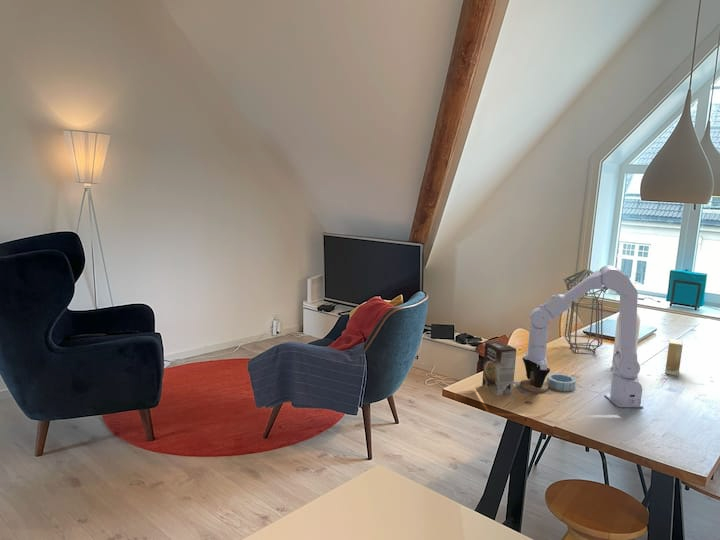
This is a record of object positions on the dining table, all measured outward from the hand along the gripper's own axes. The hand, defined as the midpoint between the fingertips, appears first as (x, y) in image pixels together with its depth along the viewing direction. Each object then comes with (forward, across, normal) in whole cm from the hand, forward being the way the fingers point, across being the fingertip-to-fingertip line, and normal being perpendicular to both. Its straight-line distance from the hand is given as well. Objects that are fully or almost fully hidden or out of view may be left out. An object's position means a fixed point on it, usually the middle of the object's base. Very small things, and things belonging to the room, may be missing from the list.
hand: (534, 383), depth 175 cm
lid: (+2, 0, 0) cm, 2 cm away
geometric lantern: (+3, -43, +35) cm, 56 cm away
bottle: (+3, -22, +42) cm, 47 cm away
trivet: (+2, 0, 0) cm, 2 cm away
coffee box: (+3, +2, -13) cm, 13 cm away
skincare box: (+3, -19, +59) cm, 62 cm away
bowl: (+2, -2, +10) cm, 10 cm away
